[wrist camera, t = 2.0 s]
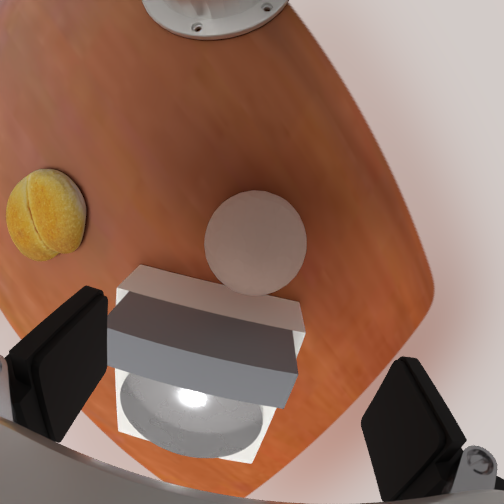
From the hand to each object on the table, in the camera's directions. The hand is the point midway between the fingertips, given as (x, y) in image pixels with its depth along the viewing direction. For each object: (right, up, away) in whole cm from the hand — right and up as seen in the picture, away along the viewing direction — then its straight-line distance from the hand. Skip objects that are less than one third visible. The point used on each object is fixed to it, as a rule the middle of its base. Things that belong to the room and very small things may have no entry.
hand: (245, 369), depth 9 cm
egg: (+1, +6, +16) cm, 17 cm away
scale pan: (-5, -10, +16) cm, 20 cm away
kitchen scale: (-5, -7, +20) cm, 22 cm away
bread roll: (-19, +7, +17) cm, 26 cm away
